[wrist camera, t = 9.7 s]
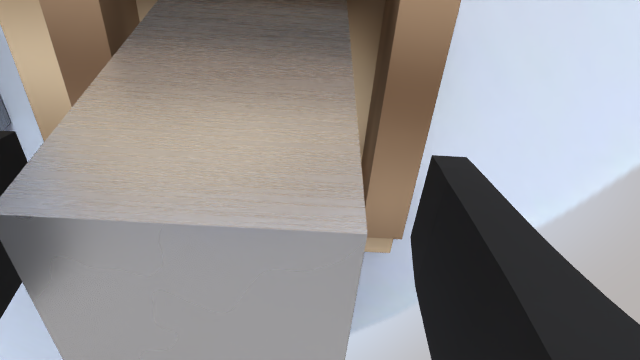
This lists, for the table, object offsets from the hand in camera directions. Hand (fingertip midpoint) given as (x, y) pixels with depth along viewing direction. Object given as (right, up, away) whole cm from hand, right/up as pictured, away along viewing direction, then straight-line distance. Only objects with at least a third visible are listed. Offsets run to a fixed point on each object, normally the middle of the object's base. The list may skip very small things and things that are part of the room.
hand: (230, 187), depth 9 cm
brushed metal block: (0, +3, +4) cm, 5 cm away
